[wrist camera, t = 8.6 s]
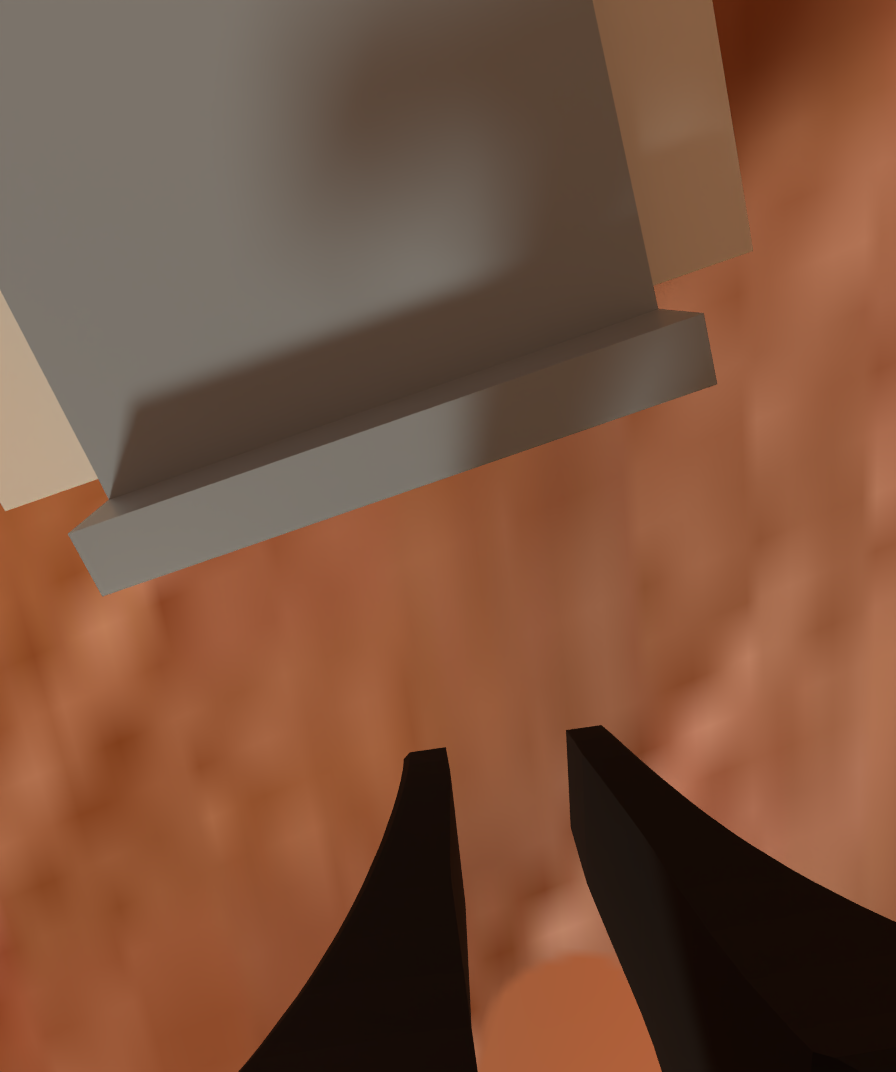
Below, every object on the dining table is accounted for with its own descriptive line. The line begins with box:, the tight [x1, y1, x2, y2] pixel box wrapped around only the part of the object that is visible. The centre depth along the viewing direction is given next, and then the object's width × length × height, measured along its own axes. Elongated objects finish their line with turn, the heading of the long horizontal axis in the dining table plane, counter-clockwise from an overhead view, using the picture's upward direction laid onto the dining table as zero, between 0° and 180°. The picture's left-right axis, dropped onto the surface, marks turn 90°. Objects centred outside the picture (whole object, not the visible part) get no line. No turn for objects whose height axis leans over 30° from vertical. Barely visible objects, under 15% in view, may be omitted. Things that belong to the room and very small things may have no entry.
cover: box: [0, 0, 717, 596], centre depth 12 cm, size 11×11×3 cm
